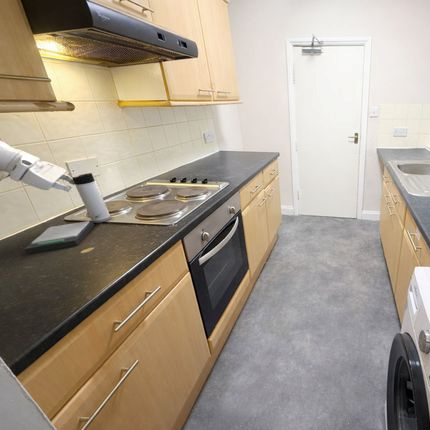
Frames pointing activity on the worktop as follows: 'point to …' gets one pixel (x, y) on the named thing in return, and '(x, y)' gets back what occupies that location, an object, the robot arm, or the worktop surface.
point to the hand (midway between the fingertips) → (73, 186)
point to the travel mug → (91, 197)
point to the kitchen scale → (60, 237)
